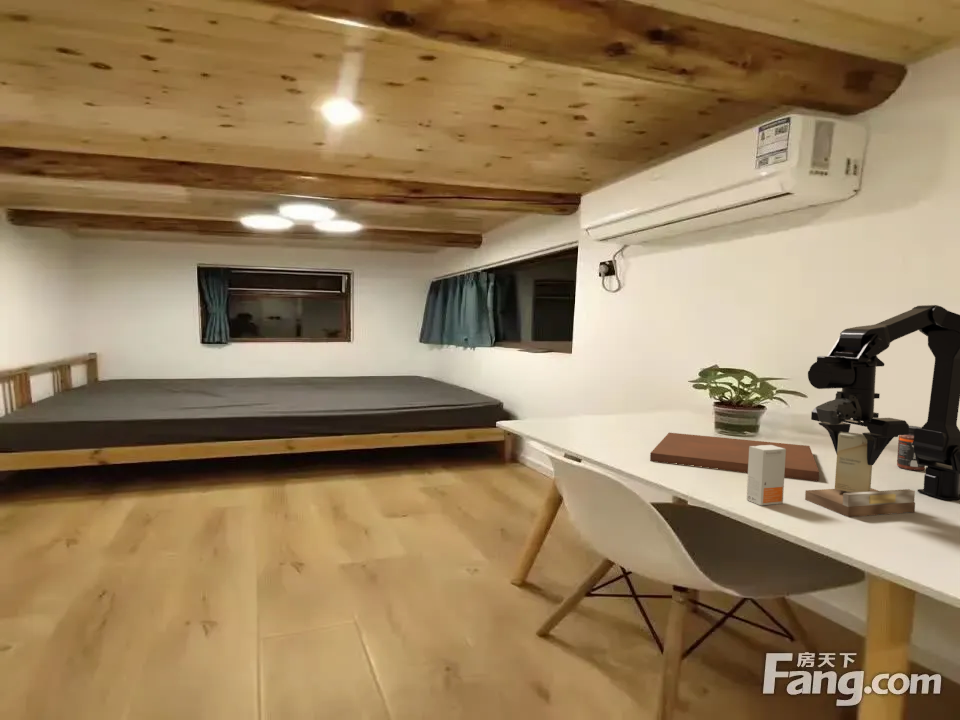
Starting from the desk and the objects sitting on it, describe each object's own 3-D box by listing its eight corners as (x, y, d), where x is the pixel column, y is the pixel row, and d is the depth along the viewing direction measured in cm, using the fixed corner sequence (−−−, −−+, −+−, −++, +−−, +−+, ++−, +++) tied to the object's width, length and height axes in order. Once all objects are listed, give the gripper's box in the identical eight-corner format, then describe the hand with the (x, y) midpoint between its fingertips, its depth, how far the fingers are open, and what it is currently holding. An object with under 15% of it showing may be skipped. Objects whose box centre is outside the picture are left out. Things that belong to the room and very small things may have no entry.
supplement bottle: (921, 472, 142) (924, 429, 141) (893, 467, 146) (896, 426, 146) (927, 468, 146) (930, 427, 145) (900, 464, 150) (902, 423, 149)
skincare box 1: (761, 506, 114) (763, 450, 113) (745, 500, 118) (748, 445, 117) (784, 504, 116) (786, 448, 115) (768, 497, 120) (770, 444, 119)
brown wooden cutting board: (818, 484, 133) (809, 455, 162) (819, 471, 133) (809, 445, 162) (650, 463, 152) (668, 441, 181) (650, 452, 151) (668, 432, 180)
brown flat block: (866, 495, 122) (867, 476, 122) (915, 512, 111) (916, 491, 111) (805, 499, 119) (806, 479, 119) (848, 517, 108) (849, 495, 108)
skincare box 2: (834, 489, 117) (836, 434, 116) (836, 485, 120) (839, 430, 119) (870, 495, 113) (873, 438, 112) (871, 490, 116) (874, 434, 115)
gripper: (791, 383, 122) (788, 451, 124) (865, 394, 104) (861, 474, 105) (834, 382, 125) (830, 449, 126) (913, 393, 106) (908, 471, 107)
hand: (854, 460), depth 116 cm, fingers closed on skincare box 2, 7 cm apart
